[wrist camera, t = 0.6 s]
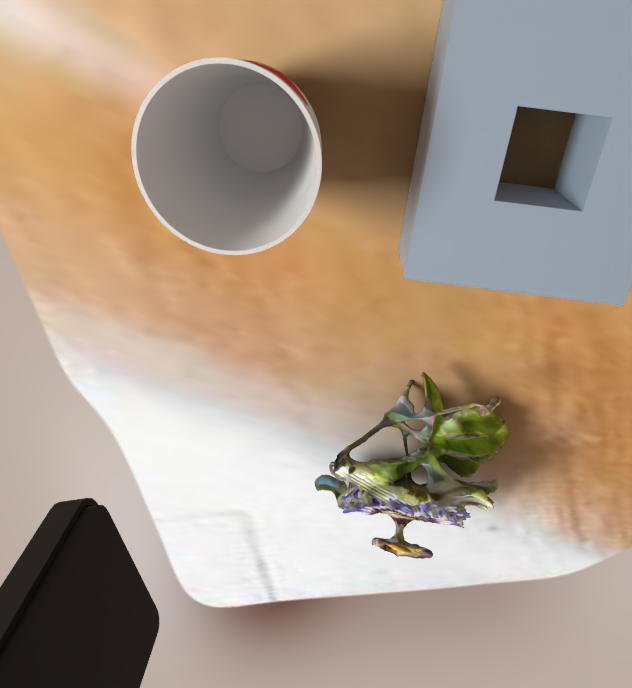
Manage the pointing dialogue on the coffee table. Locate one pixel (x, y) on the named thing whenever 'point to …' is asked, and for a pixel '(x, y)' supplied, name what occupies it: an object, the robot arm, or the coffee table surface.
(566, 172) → the hole block
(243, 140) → the cup
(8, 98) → the coffee table surface
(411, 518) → the passion flower
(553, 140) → the coffee table surface
